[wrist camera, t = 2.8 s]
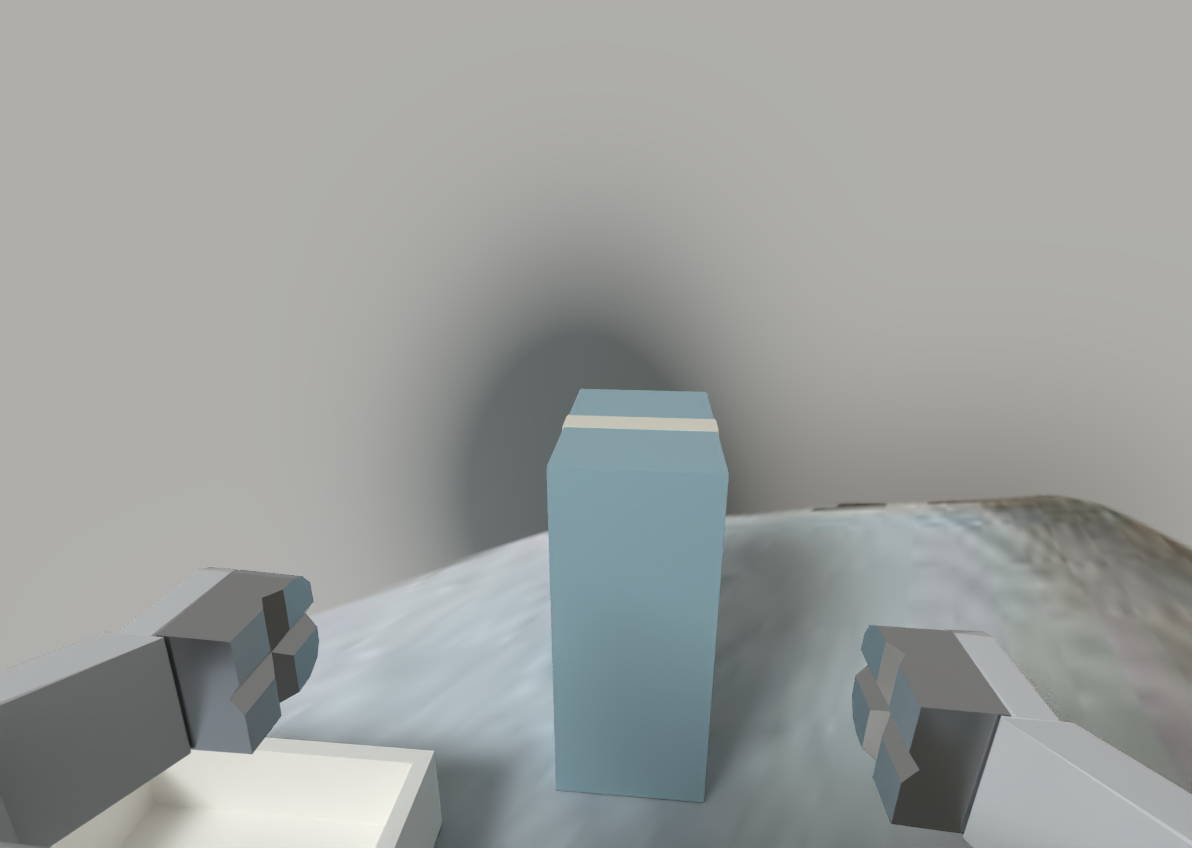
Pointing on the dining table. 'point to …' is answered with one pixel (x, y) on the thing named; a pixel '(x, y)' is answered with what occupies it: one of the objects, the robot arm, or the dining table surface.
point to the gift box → (635, 591)
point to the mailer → (278, 801)
